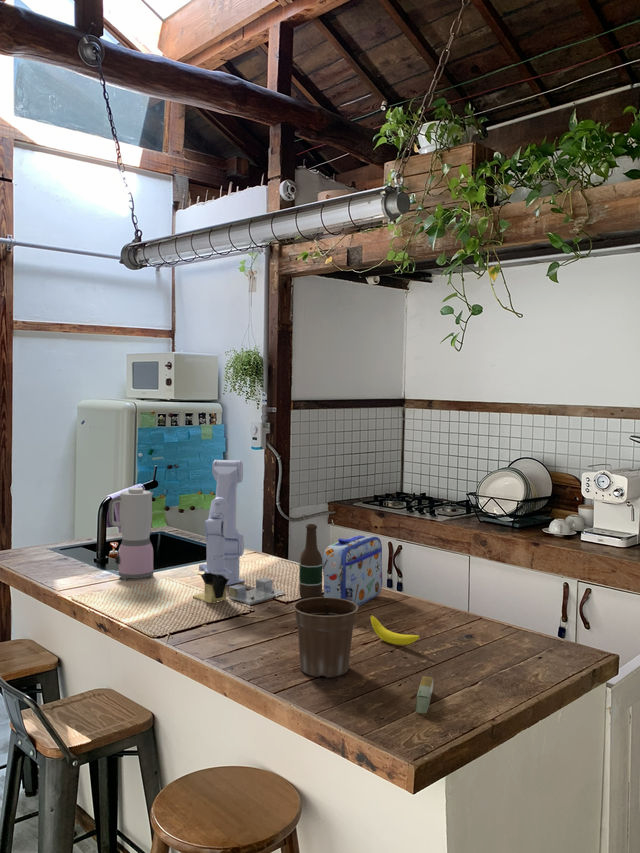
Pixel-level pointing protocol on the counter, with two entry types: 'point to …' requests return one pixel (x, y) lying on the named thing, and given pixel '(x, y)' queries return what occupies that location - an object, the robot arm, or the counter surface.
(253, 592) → the fixed leaf
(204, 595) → the pale gold block
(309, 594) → the beer bottle
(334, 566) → the lunch box
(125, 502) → the blender
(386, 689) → the counter surface
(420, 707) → the medication box
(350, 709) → the counter surface
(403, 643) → the banana
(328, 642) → the plant pot
